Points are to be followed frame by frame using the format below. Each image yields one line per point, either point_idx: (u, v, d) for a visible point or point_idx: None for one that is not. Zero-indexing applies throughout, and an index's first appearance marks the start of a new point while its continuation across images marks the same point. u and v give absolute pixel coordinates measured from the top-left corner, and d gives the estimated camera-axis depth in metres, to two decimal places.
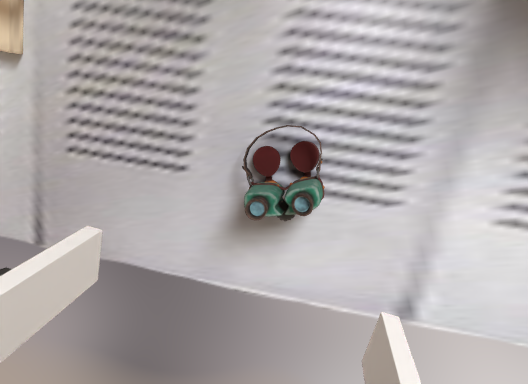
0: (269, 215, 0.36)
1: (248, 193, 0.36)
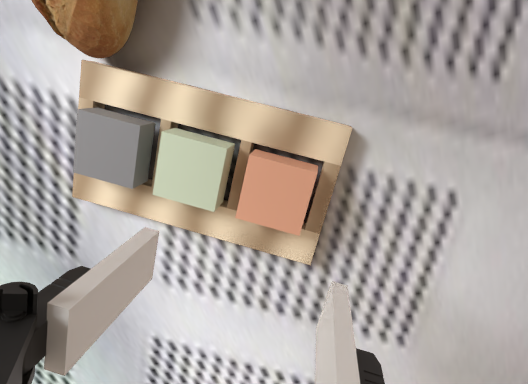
0: None
1: None
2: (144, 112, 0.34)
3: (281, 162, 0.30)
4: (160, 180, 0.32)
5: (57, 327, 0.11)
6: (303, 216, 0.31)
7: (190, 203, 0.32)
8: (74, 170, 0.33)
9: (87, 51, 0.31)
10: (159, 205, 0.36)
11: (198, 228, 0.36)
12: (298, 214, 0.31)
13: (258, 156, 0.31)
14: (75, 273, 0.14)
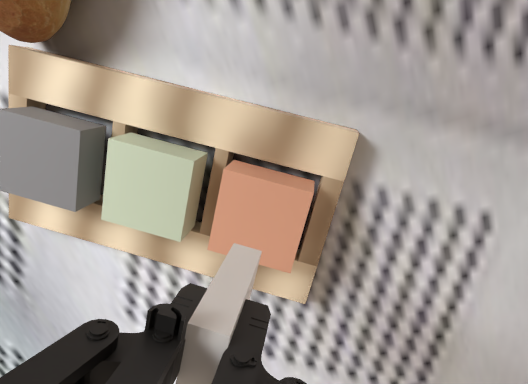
0: None
1: None
2: (91, 112, 0.26)
3: (266, 179, 0.23)
4: (110, 201, 0.25)
5: (194, 346, 0.12)
6: (295, 249, 0.24)
7: (149, 231, 0.25)
8: (1, 188, 0.26)
9: (10, 33, 0.24)
10: (116, 229, 0.29)
11: (165, 257, 0.29)
12: (289, 246, 0.24)
13: (235, 171, 0.23)
14: (188, 290, 0.15)
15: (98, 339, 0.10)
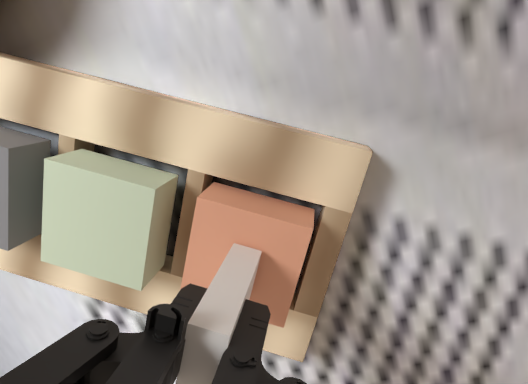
0: None
1: None
2: (32, 123, 0.21)
3: (252, 210, 0.18)
4: (50, 238, 0.19)
5: (194, 345, 0.12)
6: (290, 298, 0.19)
7: (101, 276, 0.19)
8: None
9: None
10: None
11: (129, 302, 0.23)
12: (282, 295, 0.19)
13: (213, 199, 0.18)
14: (188, 290, 0.15)
15: (98, 339, 0.10)
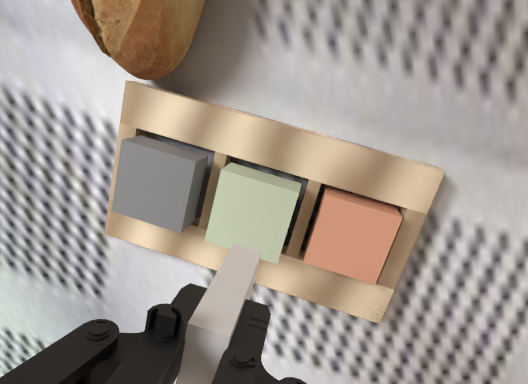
0: None
1: None
2: (196, 143, 0.29)
3: (361, 204, 0.27)
4: (215, 225, 0.28)
5: (194, 345, 0.12)
6: (381, 264, 0.28)
7: None
8: (113, 209, 0.29)
9: (136, 73, 0.27)
10: (206, 249, 0.32)
11: None
12: (376, 262, 0.28)
13: (335, 196, 0.27)
14: (187, 290, 0.15)
15: (98, 339, 0.10)
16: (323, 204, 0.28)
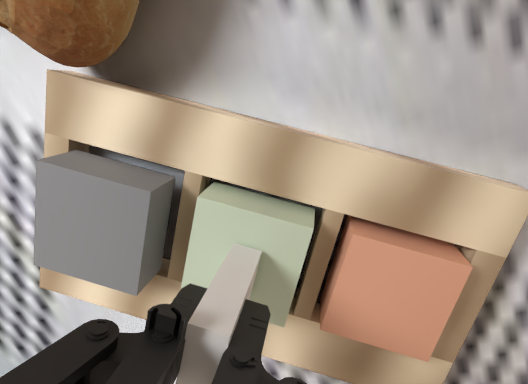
0: None
1: None
2: (156, 159, 0.20)
3: (407, 247, 0.18)
4: (193, 274, 0.19)
5: (194, 346, 0.12)
6: (438, 333, 0.19)
7: None
8: (35, 261, 0.19)
9: (54, 56, 0.17)
10: None
11: None
12: (430, 330, 0.19)
13: (367, 236, 0.18)
14: (188, 290, 0.15)
15: (98, 339, 0.10)
16: (349, 248, 0.18)
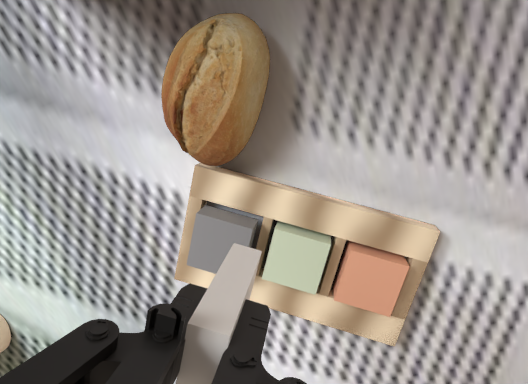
0: None
1: None
2: (248, 210, 0.38)
3: (377, 256, 0.36)
4: (269, 267, 0.38)
5: (194, 346, 0.12)
6: (394, 301, 0.37)
7: (294, 287, 0.38)
8: (187, 263, 0.38)
9: (206, 163, 0.36)
10: (255, 289, 0.40)
11: (291, 310, 0.40)
12: (390, 299, 0.37)
13: (357, 251, 0.36)
14: (188, 290, 0.15)
15: (98, 339, 0.10)
16: (348, 257, 0.36)
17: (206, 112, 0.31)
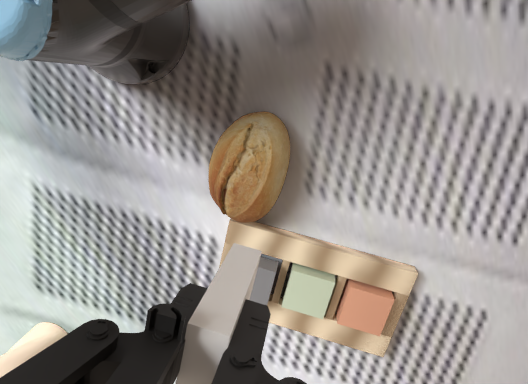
0: None
1: None
2: (271, 255, 0.49)
3: (370, 292, 0.47)
4: (287, 298, 0.49)
5: (194, 346, 0.12)
6: (383, 325, 0.48)
7: (307, 313, 0.49)
8: None
9: (240, 222, 0.47)
10: (276, 314, 0.52)
11: (303, 329, 0.52)
12: (380, 323, 0.48)
13: (355, 287, 0.48)
14: (188, 290, 0.15)
15: (98, 339, 0.10)
16: (348, 292, 0.48)
17: (244, 193, 0.41)
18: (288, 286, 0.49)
